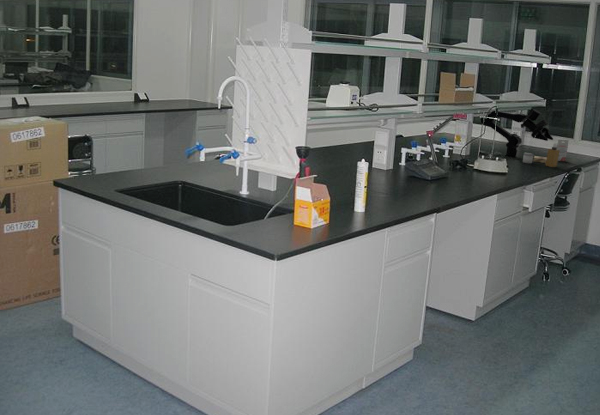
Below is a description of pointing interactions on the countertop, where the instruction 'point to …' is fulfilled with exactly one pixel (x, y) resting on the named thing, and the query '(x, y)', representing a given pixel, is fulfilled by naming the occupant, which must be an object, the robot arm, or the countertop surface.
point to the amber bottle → (552, 157)
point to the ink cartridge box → (561, 149)
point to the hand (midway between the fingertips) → (550, 139)
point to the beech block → (539, 159)
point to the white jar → (528, 157)
